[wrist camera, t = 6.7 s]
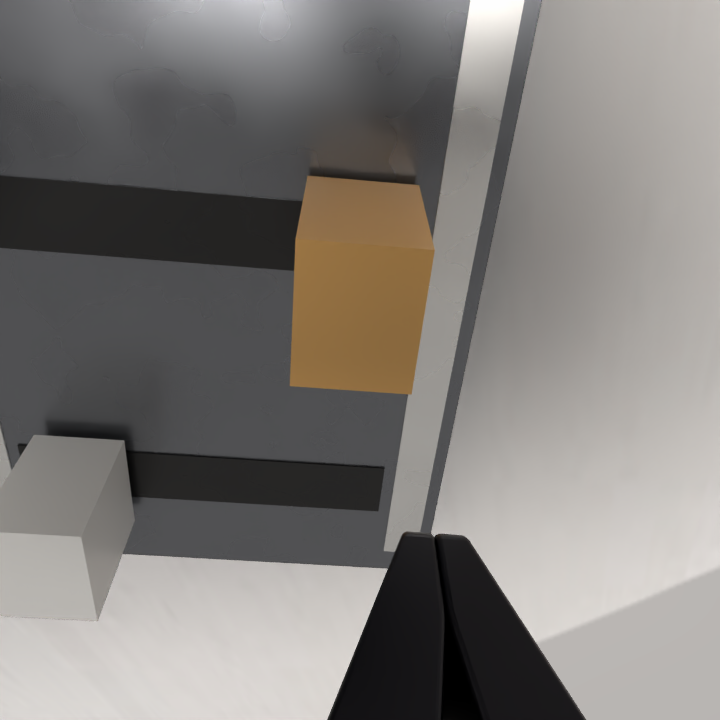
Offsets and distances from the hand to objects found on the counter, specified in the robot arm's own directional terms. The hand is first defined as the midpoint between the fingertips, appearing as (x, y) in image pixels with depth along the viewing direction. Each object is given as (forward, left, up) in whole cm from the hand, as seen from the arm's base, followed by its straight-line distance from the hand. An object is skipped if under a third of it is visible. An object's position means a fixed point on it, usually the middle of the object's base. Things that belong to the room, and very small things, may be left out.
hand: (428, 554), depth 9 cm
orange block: (0, +1, -11) cm, 11 cm away
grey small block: (-9, +9, -11) cm, 17 cm away
